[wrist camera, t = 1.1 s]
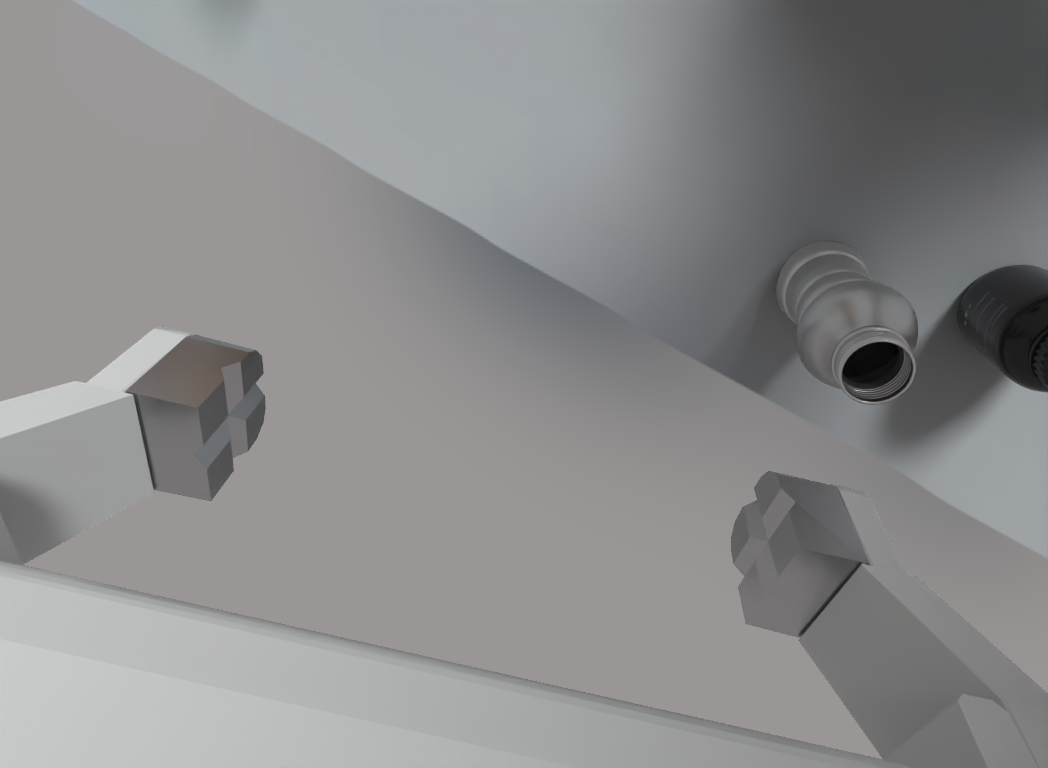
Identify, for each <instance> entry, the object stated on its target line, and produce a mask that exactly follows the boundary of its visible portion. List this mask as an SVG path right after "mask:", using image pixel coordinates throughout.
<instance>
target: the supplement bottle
mask: <svg viewBox="0 0 1048 768" xmlns="http://www.w3.org/2000/svg"><path fill="white" fill-rule="evenodd" d="M958 323H959V327H960V329H961V331H962V333H963V335H964V336H965V337H966V338H967V339H968V341H969V342H970V343H971V344H972V345H973V346H975V347H976V348H977V349H978V350H979V351H980V352H981V353H982V354H983V355H984V356H985V357H986V358H988V359H989V360H990V361H991V362H992V363H993V364H994V365H995V366H996V367H997V368H998V369H1000V370H1001V371H1002V372H1003V373H1004V374H1005V375H1006V376H1007V377H1008V378H1010V379H1011V380H1012V381H1014V382H1015V383H1017V384H1019V385H1021V386H1023V387H1025V388H1028V389H1031V390H1035V391H1040V392H1048V271H1047V270H1045V269H1042V268H1039V267H1035V266H1030V265H1013V266H1007V267H1003V268H999V269H996V270H994V271H992V272H990V273H988V274H986V275H984V276H982V277H981V278H980V279H978V280H977V281H976V282H975V283H974V284H972V285H971V286H970V288H969V289H968V290H967V291H966V293H965V294H964V296H963V298H962V300H961V302H960V305H959V309H958Z"/></svg>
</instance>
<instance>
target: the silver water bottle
mask: <svg viewBox="0 0 1048 768" xmlns="http://www.w3.org/2000/svg"><path fill="white" fill-rule="evenodd" d="M776 294H777V300H778V303H779V306H780V308H781V309H782V311H783V313H784V314H785V315H786V316H787V317H788V318H789V319H790V320H791V321H792V322H793V323H795V324H796V325H797V347H798V352H799V355H800V358H801V361H802V363H803V364H804V366H805V367H806V369H807V370H808V371H809V372H810V373H811V374H812V375H813V376H814V377H815V378H817V379H818V380H820V381H822V382H824V383H826V384H828V385H830V386H833V387H835V388H840V389H842V390H843V391H844V392H845V393H846V394H847V395H848V396H849V397H850V398H852V399H853V400H855V401H857V402H860V403H864V404H873V405H875V404H883V403H886V402H890V401H892V400H894V399H896V398H898V397H899V396H900V395H902V394H903V393H904V392H905V391H906V390H907V389H908V388H909V387H910V385H911V384H912V382H913V380H914V378H915V374H916V361H915V358H914V355H913V353H914V350H915V348H916V343H917V338H918V322H917V318H916V315H915V312H914V310H913V308H912V306H911V304H910V303H909V302H908V301H907V300H906V299H905V297H904V296H903V295H901V294H900V293H898V292H897V291H895V290H894V289H892V288H891V287H889V286H887V285H884V284H882V283H879V282H876V281H873V280H872V279H871V276H870V272H869V269H868V266H867V264H866V262H865V260H864V259H863V257H862V256H861V255H860V254H859V253H858V252H857V251H856V250H854V249H853V248H851V247H850V246H847V245H844V244H842V243H836V242H817V243H813V244H810V245H807V246H805V247H803V248H801V249H800V250H798V251H796V252H795V253H794V254H793V255H792V256H791V257H790V258H789V259H788V260H787V261H786V263H785V264H784V266H783V268H782V269H781V271H780V275H779V278H778V281H777V288H776Z"/></svg>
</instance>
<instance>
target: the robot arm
mask: <svg viewBox="0 0 1048 768" xmlns="http://www.w3.org/2000/svg"><path fill="white" fill-rule="evenodd" d="M262 375H263V363H262V356H261V355H260V354H259V353H258V352H257V351H256V350H253V349H249V348H245V347H241V346H238V345H233V344H230V343H226V342H222V341H218V340H214V339H210V338H206V337H202V336H199V335H192V334H190V333H186V332H181V331H178V330H173V329H169V328H165V327H161V328H155V329H153V330H151V331H150V332H149V333H148V334H147V335H145V336H144V337H143V338H142V339H140V340H139V341H138V342H137V343H135V344H134V345H133V346H132V347H131V348H129V349H128V350H127V351H125V352H124V353H123V354H122V355H120V356H119V357H118V358H117V359H116V360H114V361H113V362H112V363H110V364H109V365H108V366H107V367H105V368H104V369H103V370H102V371H100V372H99V373H98V374H97V375H96V376H94V377H93V378H92V379H91V380H89V381H88V382H87V383H82V382H77V381H74V382H70V383H67V384H63V385H59V386H55V387H52V388H48V389H45V390H41V391H38V392H34V393H30V394H27V395H23V396H19V397H16V398H12V399H9V400H5V401H2V402H0V768H1048V693H1047V692H1046V691H1044V690H1043V689H1042V688H1041V687H1040V686H1039V685H1038V684H1037V683H1035V682H1034V681H1033V680H1032V679H1031V678H1030V677H1029V676H1027V675H1026V674H1025V673H1024V672H1023V671H1022V670H1021V669H1020V668H1019V667H1018V666H1016V665H1015V664H1014V663H1013V662H1012V661H1011V660H1010V659H1009V658H1008V657H1006V656H1005V655H1004V654H1003V653H1002V652H1001V651H1000V650H999V649H997V648H996V647H995V646H994V645H993V644H992V643H991V642H990V641H988V640H987V639H986V638H985V637H984V636H983V635H982V634H981V633H979V632H978V631H977V630H976V629H975V628H974V627H973V626H972V625H970V624H969V623H968V622H967V621H966V620H965V619H964V618H963V617H962V616H961V615H959V614H958V613H957V612H956V611H955V610H954V609H953V608H951V607H950V606H949V605H948V604H947V603H946V602H945V601H944V600H943V599H941V598H940V597H939V596H938V595H937V594H936V593H935V592H934V591H933V590H931V589H930V588H929V587H928V586H927V585H926V584H925V583H923V582H922V581H921V580H920V579H919V578H918V577H917V576H912V575H908V574H906V571H905V569H904V567H903V565H902V563H901V561H900V559H899V557H898V555H897V553H896V551H895V549H894V546H893V544H892V542H891V540H890V538H889V536H888V534H887V532H886V530H885V528H884V526H883V524H882V521H881V519H880V517H879V515H878V513H877V511H876V509H875V507H874V505H873V503H872V501H871V499H870V497H869V496H868V495H867V494H866V493H865V492H863V491H861V490H856V489H852V488H847V487H842V486H837V485H832V484H831V485H827V484H823V483H819V482H815V481H810V480H806V479H802V478H797V477H793V476H789V475H784V474H780V473H776V472H771V471H768V472H766V474H764V475H763V476H762V477H761V478H760V480H759V481H758V483H757V485H756V486H755V488H754V489H755V493H756V497H757V500H756V501H754V502H752V503H750V504H748V505H746V506H744V507H743V508H742V510H741V511H740V513H739V515H738V517H737V519H736V521H735V524H734V528H733V532H732V537H731V552H732V557H733V563H734V565H735V566H736V567H737V568H738V569H739V571H740V572H741V573H742V574H743V575H744V576H745V577H744V579H743V581H742V582H741V583H740V585H739V587H738V589H739V593H740V598H741V603H742V608H743V612H744V617H745V622H746V624H748V625H752V626H756V627H760V628H764V629H768V630H772V631H775V632H780V633H783V634H787V635H791V636H795V637H799V638H800V639H799V641H800V643H801V644H802V646H803V647H804V648H805V650H806V651H807V653H808V654H809V656H810V657H811V658H812V660H813V661H814V663H815V664H816V665H817V667H818V668H819V669H820V671H821V672H822V674H823V675H824V677H825V678H826V680H827V681H828V682H829V684H830V685H831V686H832V688H833V689H834V691H835V692H836V694H837V695H838V696H839V698H840V699H841V701H842V702H843V703H844V705H845V706H846V708H847V709H848V710H849V712H850V713H851V714H852V716H853V717H854V719H855V720H856V722H857V723H858V724H859V726H860V727H861V729H862V730H863V731H864V733H865V734H866V736H867V737H868V739H869V740H870V741H871V743H872V744H873V746H874V747H875V748H876V750H877V751H878V753H879V754H880V756H881V757H882V758H883V759H878V758H874V757H869V756H865V755H860V754H856V753H852V752H847V751H843V750H838V749H834V748H830V747H825V746H821V745H816V744H811V743H807V742H803V741H799V740H794V739H789V738H785V737H781V736H777V735H772V734H768V733H763V732H759V731H754V730H750V729H745V728H741V727H736V726H732V725H727V724H723V723H719V722H714V721H710V720H705V719H701V718H697V717H692V716H688V715H683V714H679V713H674V712H670V711H666V710H661V709H657V708H652V707H648V706H643V705H639V704H634V703H629V702H625V701H621V700H617V699H612V698H608V697H603V696H599V695H594V694H590V693H586V692H581V691H577V690H572V689H568V688H563V687H559V686H554V685H550V684H545V683H541V682H537V681H532V680H528V679H523V678H519V677H515V676H510V675H506V674H501V673H497V672H492V671H488V670H483V669H479V668H475V667H471V666H466V665H462V664H457V663H452V662H449V661H444V660H440V659H435V658H431V657H426V656H421V655H418V654H413V653H409V652H404V651H400V650H396V649H391V648H387V647H382V646H378V645H374V644H369V643H364V642H360V641H356V640H351V639H347V638H343V637H338V636H333V635H329V634H325V633H320V632H316V631H311V630H307V629H303V628H298V627H294V626H289V625H285V624H281V623H276V622H272V621H267V620H263V619H258V618H254V617H249V616H245V615H241V614H237V613H232V612H227V611H223V610H219V609H214V608H210V607H206V606H201V605H197V604H192V603H187V602H183V601H178V600H175V599H170V598H166V597H161V596H157V595H152V594H148V593H143V592H139V591H135V590H130V589H126V588H121V587H117V586H113V585H108V584H103V583H99V582H95V581H90V580H85V579H82V578H77V577H73V576H68V575H64V574H59V573H55V572H50V571H46V570H42V569H37V568H33V567H28V566H25V565H24V564H25V563H26V562H28V561H30V560H32V559H34V558H36V557H37V556H39V555H41V554H43V553H45V552H47V551H48V550H50V549H52V548H54V547H56V546H58V545H59V544H61V543H63V542H65V541H67V540H69V539H70V538H72V537H74V536H76V535H78V534H79V533H81V532H83V531H85V530H87V529H89V528H91V527H92V526H94V525H96V524H98V523H100V522H102V521H103V520H105V519H107V518H109V517H111V516H113V515H114V514H116V513H118V512H120V511H122V510H124V509H125V508H127V507H129V506H131V505H133V504H134V503H136V502H138V501H140V500H142V499H144V498H145V497H147V496H149V495H151V494H153V493H154V490H158V491H163V492H168V493H173V494H178V495H183V496H188V497H193V498H198V499H203V500H208V501H212V499H213V498H214V496H215V495H216V494H217V492H218V491H219V490H220V488H221V487H222V486H223V484H224V483H225V482H226V480H227V479H228V478H229V476H230V475H231V474H232V472H233V471H234V469H233V458H234V457H236V456H238V455H241V454H243V453H245V452H247V451H249V449H250V448H251V446H252V445H253V443H254V442H255V441H256V439H257V437H258V434H259V432H260V429H261V427H262V424H263V421H264V415H265V395H264V394H263V393H262V391H261V390H260V389H259V387H258V386H257V385H256V382H257V381H258V379H259V378H260V377H261V376H262Z"/></svg>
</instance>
